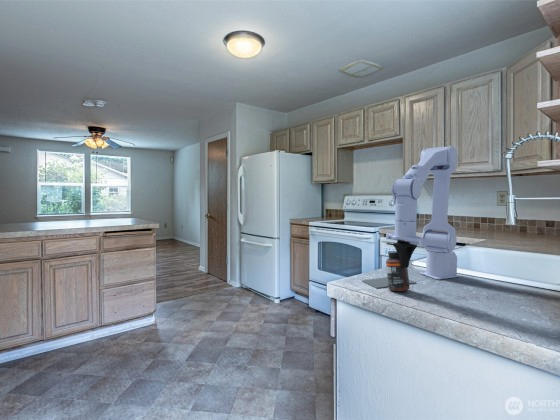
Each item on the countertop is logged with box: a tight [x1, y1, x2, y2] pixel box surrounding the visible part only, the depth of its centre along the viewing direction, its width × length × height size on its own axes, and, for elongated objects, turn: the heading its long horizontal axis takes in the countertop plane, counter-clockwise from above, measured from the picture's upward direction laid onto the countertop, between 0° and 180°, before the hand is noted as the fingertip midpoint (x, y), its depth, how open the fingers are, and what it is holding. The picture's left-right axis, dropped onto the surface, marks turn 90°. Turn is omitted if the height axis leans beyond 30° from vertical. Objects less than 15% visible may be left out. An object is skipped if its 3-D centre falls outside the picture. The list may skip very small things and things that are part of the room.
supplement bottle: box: [385, 250, 410, 292], centre depth 94 cm, size 6×6×11 cm
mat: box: [361, 276, 417, 289], centre depth 102 cm, size 15×8×1 cm, turn 109°
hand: (404, 267), depth 91 cm, fingers closed
